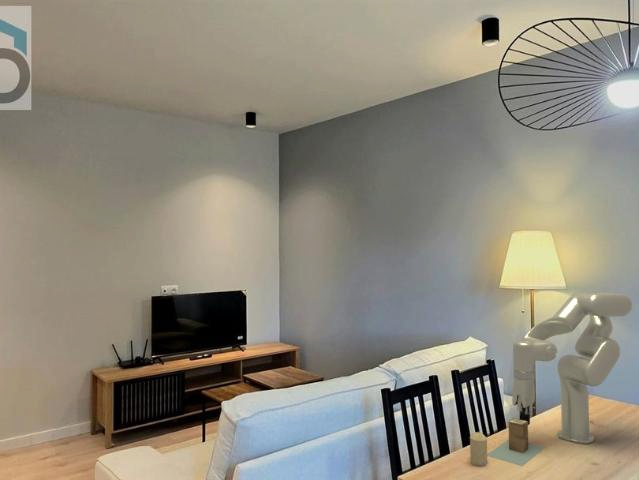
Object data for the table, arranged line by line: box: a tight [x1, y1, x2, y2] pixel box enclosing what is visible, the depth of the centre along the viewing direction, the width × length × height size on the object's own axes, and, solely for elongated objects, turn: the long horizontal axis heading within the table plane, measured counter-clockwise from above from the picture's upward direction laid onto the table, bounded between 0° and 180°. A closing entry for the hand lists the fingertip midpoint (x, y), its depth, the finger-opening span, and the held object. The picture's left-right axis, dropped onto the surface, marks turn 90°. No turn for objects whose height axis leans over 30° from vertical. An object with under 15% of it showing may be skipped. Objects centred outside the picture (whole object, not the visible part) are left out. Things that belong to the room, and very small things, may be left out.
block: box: [508, 417, 529, 453], centre depth 178 cm, size 5×5×10 cm
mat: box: [487, 439, 546, 467], centre depth 176 cm, size 21×13×1 cm, turn 136°
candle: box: [469, 431, 488, 467], centre depth 168 cm, size 6×6×10 cm
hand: (524, 424), depth 182 cm, fingers closed
